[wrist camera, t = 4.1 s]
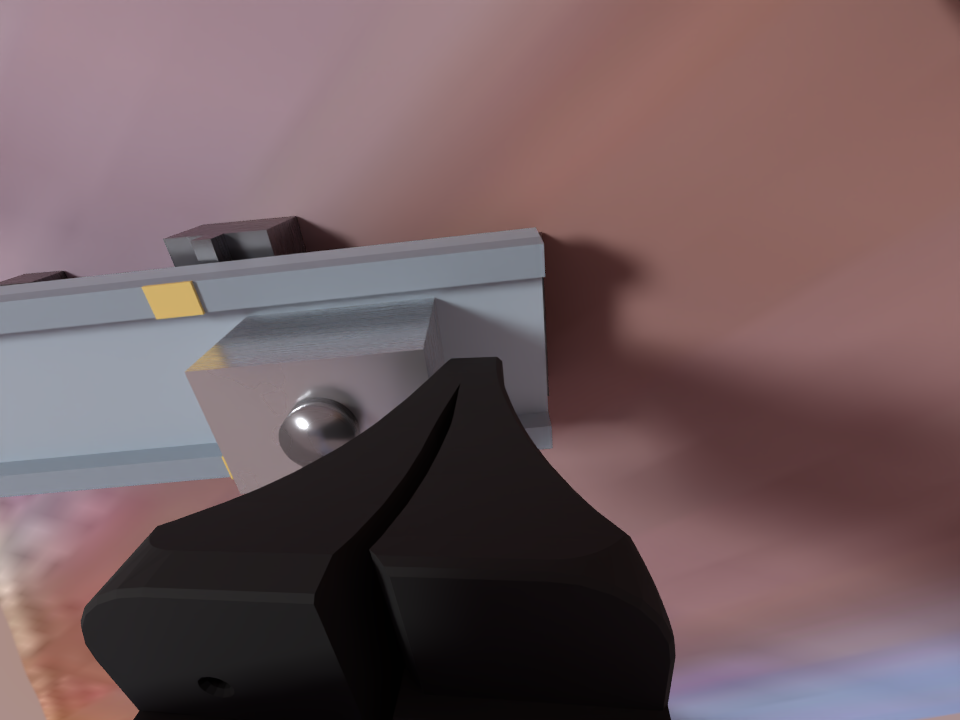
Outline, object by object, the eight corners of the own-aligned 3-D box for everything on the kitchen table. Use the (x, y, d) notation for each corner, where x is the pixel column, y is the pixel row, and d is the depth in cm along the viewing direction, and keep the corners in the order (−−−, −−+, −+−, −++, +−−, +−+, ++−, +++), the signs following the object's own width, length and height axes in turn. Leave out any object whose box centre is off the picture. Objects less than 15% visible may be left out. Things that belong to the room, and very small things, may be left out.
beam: (544, 415, 15) (552, 450, 13) (16, 463, 16) (-34, 502, 14) (535, 226, 12) (544, 243, 11) (-107, 297, 13) (-188, 322, 11)
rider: (451, 405, 14) (444, 491, 11) (285, 420, 14) (231, 509, 11) (434, 297, 12) (420, 361, 9) (247, 316, 12) (170, 384, 9)
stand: (549, 403, 17) (550, 446, 15) (107, 415, 19) (54, 453, 17) (540, 193, 13) (540, 209, 11) (6, 243, 16) (-74, 264, 14)
